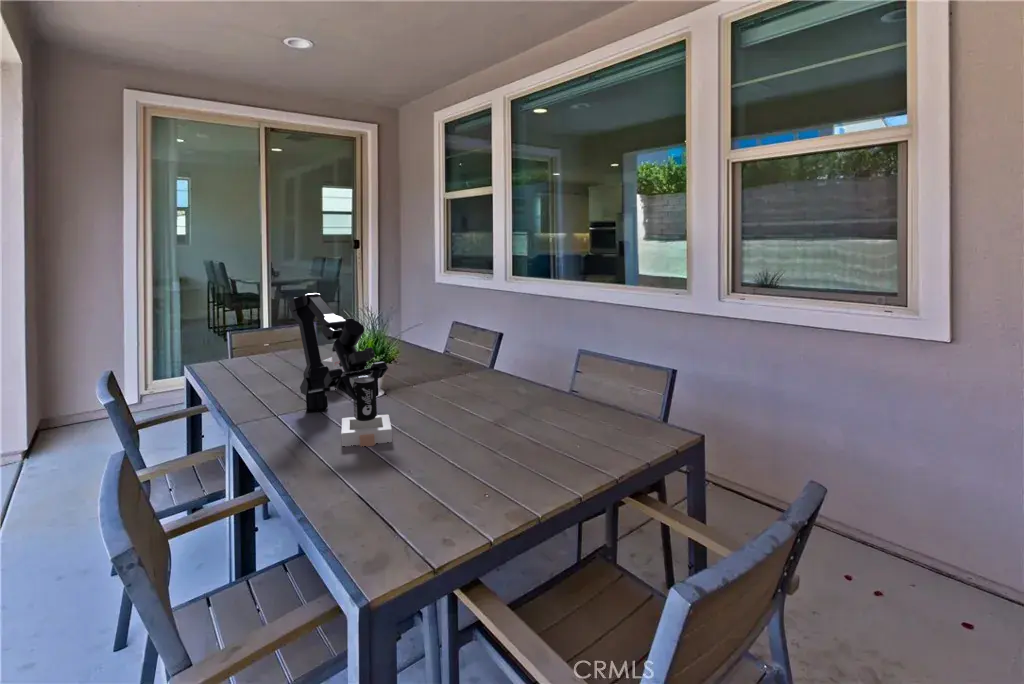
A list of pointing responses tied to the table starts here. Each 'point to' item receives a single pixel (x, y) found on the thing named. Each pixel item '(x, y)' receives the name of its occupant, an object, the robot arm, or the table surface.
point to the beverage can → (365, 399)
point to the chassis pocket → (366, 431)
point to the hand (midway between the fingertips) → (367, 397)
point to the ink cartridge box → (332, 364)
